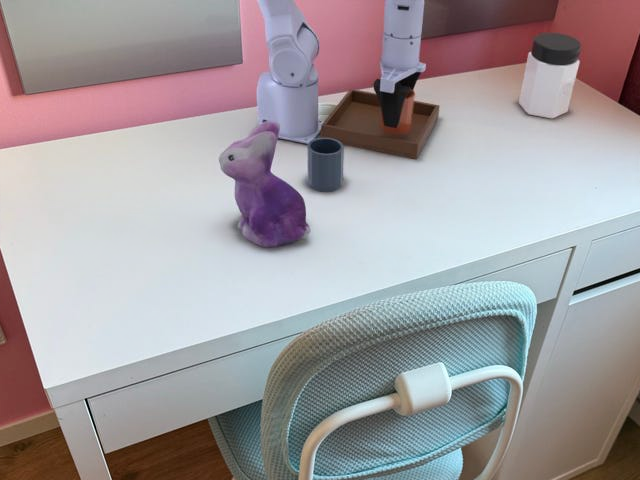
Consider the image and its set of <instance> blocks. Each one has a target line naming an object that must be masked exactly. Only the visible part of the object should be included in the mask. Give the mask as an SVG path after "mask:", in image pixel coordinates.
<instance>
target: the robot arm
mask: <svg viewBox="0 0 640 480" xmlns="http://www.w3.org/2000/svg"><path fill="white" fill-rule="evenodd" d="M256 2H257V4H258V6H259V9H260V12H261V14H262V17H263V20H264V29H265V31H264V32H265V44H266V45H267V48H268V49H267V50H268V51H269V58H268V66H269V70H270V71H269V70H267V71H266V70H265V71H263V72H262V73H261V74H260V76H259V78H258V81H257V86H256V106H257V107H256V108H257V125H258V126H259V125H260V124H262V123H263V122H266V121H273V122H277V123H279V125H280V130H279V135H278V139H282V140H287V141H292V142H298V143H301V144H306V145H307V144H308V143H309V142H310V141H311V140H314V139H316V138H318V136H319V135H320V134H321V125H322V124H323V123H324V121H325V120H322V119H319V73H318V71H317V69H316V67H315V64H314V63H315V60H316V58H317V57H318V55H319V52H320V48H321V46H320V40H319V37H318V35H317V33H316V32H315V31H314V30H313V28H311V26H310V25H309V24H308V22H307V20H306V17H305V14H304V13H303V12H302V10H301V9H300V8H299V7H298V6H297V5H296V1H295V0H256ZM383 11H384V13H383V14H384V15H383V29H382V44H381V45H382V46H381V47H382V48H381V58H380V59H379V68H380V75H381V77H380V78H376V79H375V80H374V82H373V91H374V93H376V94H377V97H378V99H379V102H380V106H381V111H382V117H383V122H384V126H387V127H392V128H397V126H398V124H399V121H400V117H401V112H402V108H403V104H404V101H405V99H406V97H407V95H408V93H409V91H410V90H411V89H412V90H414V89H415V87H416V84H417V82H418V79H419V78H420V76H421V74H422V73H424V72H425V71H426V69H427V63H425V62H420V53H421V52H420V51H421V42H422V33H423V32H422V31H423V21H424V20H423V19H424V11H425V0H384V10H383Z"/></svg>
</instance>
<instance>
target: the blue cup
mask: <svg viewBox="0 0 640 480" xmlns="http://www.w3.org/2000/svg"><path fill="white" fill-rule="evenodd" d="M344 154H345V147H344V145H343V144H342V143H341V142H340V141H338V140H336V139H333V138H321V137H316V138H315V139H314V140H311V141H310V142H309V143H308V144H306V155H307V156H306V157H307V159H306V160H307V163H306V165H307V167H306V168H307V185H308V186H309V187H310V188H311V189H313V190H314V191H317V192H323V193H330V192H331V193H332V192H335V191H338V190H340V188H342V186H343V182H344V160H345V159H344V157H345V155H344Z"/></svg>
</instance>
